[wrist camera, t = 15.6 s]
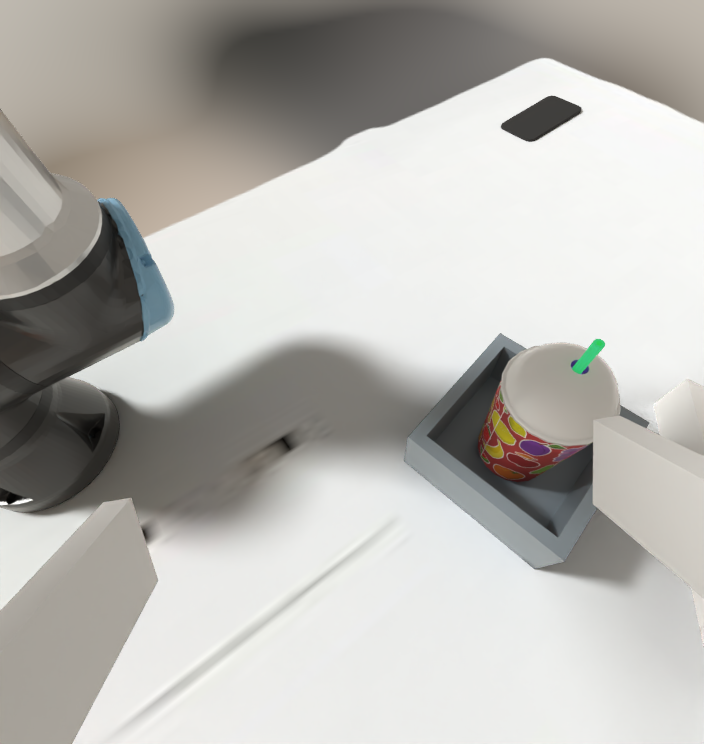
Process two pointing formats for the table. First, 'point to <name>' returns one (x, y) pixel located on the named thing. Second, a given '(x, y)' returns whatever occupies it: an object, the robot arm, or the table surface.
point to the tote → (492, 493)
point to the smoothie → (546, 408)
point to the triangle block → (684, 436)
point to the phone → (541, 118)
